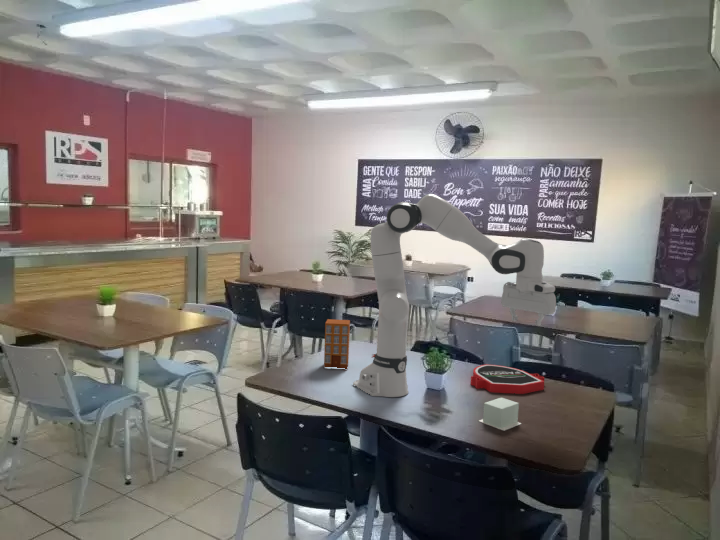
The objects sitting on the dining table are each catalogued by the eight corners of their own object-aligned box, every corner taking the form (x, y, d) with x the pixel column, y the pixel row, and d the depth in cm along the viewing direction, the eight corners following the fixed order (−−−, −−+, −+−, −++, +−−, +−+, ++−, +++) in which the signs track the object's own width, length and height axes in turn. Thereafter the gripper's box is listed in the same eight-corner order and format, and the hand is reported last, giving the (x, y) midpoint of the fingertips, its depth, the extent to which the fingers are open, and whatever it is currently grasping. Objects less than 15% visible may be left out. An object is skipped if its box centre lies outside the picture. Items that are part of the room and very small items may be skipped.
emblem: (516, 363, 249) (557, 383, 221) (515, 371, 250) (556, 393, 221) (454, 365, 241) (487, 387, 213) (453, 374, 242) (487, 396, 213)
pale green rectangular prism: (482, 422, 185) (484, 402, 184) (499, 416, 192) (501, 397, 191) (500, 428, 180) (501, 409, 179) (517, 422, 186) (518, 403, 186)
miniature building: (323, 369, 238) (325, 323, 236) (325, 363, 248) (327, 319, 246) (346, 370, 238) (348, 324, 236) (348, 364, 247) (350, 320, 245)
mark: (478, 421, 186) (478, 420, 186) (495, 414, 193) (495, 414, 193) (503, 430, 179) (504, 430, 179) (521, 423, 185) (521, 423, 185)
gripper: (498, 281, 204) (496, 319, 206) (549, 288, 189) (546, 329, 190) (508, 280, 208) (506, 317, 210) (559, 287, 193) (556, 327, 194)
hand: (526, 323), depth 200 cm, fingers open, 8 cm apart
